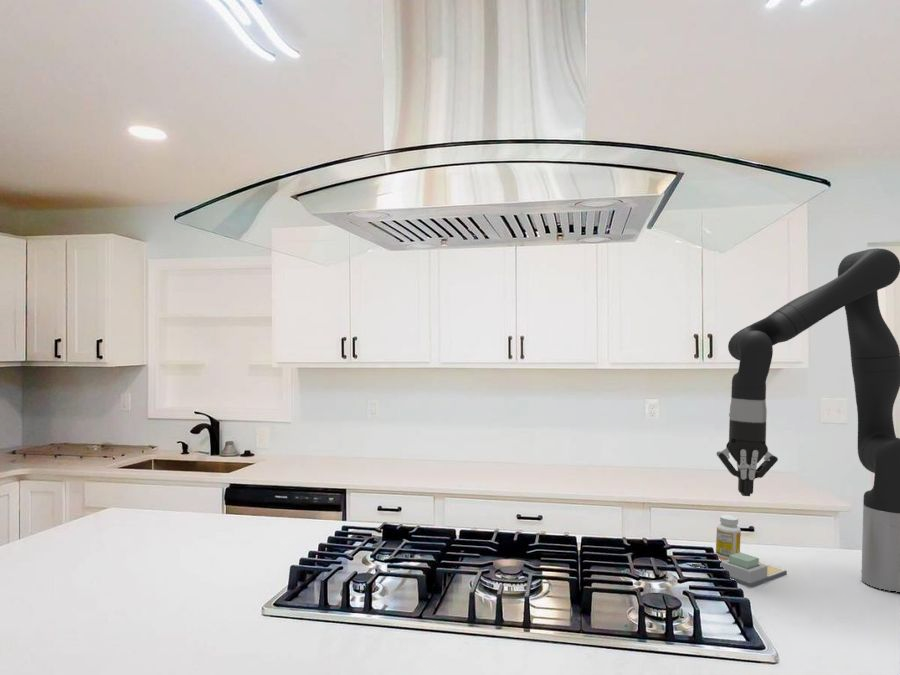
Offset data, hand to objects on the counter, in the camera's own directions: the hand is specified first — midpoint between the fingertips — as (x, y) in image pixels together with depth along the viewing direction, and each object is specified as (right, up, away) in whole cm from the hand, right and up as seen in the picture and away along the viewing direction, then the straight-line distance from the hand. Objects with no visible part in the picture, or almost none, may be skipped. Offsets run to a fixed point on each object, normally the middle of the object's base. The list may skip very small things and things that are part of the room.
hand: (745, 495), depth 139 cm
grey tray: (0, -19, +6) cm, 20 cm away
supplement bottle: (+1, -18, +11) cm, 21 cm away
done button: (0, -16, 0) cm, 16 cm away
